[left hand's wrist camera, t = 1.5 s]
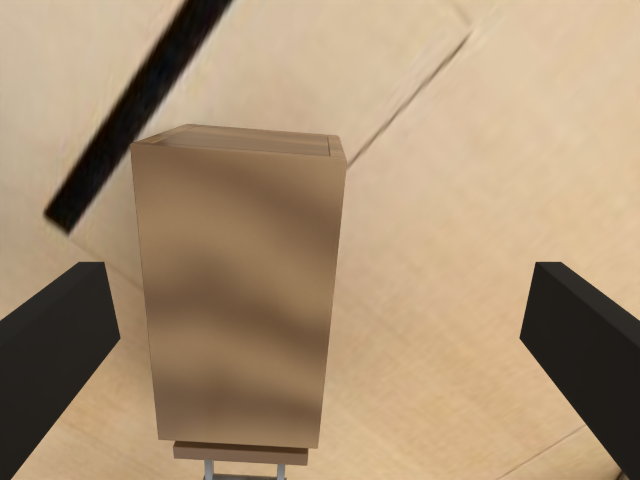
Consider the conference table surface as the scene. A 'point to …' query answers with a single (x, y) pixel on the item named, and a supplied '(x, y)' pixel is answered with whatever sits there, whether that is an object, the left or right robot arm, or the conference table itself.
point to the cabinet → (239, 279)
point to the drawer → (240, 457)
